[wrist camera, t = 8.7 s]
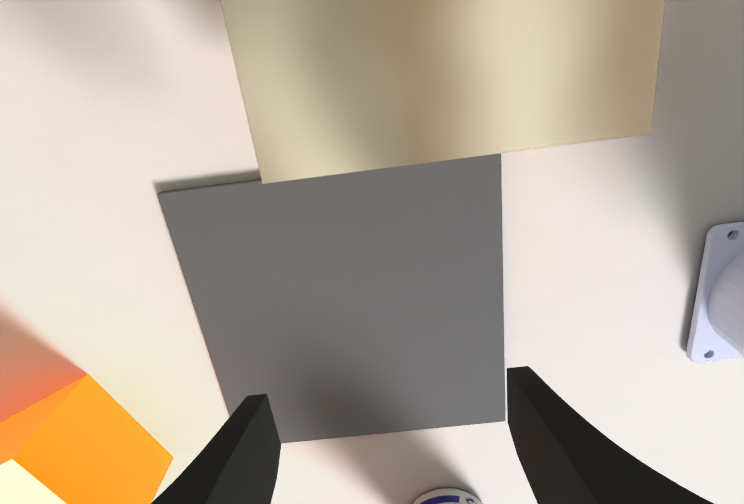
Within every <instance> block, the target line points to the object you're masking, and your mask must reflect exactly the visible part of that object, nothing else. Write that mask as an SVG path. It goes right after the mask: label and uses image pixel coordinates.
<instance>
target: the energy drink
mask: <svg viewBox="0 0 744 504" xmlns="http://www.w3.org/2000/svg"><path fill="white" fill-rule="evenodd" d="M413 504H482V503H481V502H480V501H479V500H478V499H477V498H476V497H474V496H473V495H471V494H470V493H468V492H466V491H463V490H460V489H455V488H441V489H435V490H432V491H429V492H427V493H425V494H423V495H421V496H420V497H418V498H417V499H416V500H415V501H414V503H413Z"/></svg>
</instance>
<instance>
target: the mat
mask: <svg viewBox="0 0 744 504" xmlns="http://www.w3.org/2000/svg"><path fill="white" fill-rule="evenodd" d="M157 195H158V198H159V202H160V205H161V208H162V211H163V214H164V217H165V220H166V223H167V226H168V229H169V232H170V235H171V238H172V241H173V244H174V247H175V250H176V253H177V256H178V259H179V263H180V266H181V269H182V272H183V275H184V278H185V281H186V284H187V287H188V290H189V293H190V296H191V299H192V302H193V305H194V308H195V311H196V314H197V317H198V320H199V324H200V327H201V330H202V333H203V336H204V339H205V342H206V345H207V348H208V351H209V354H210V357H211V360H212V363H213V366H214V369H215V372H216V375H217V378H218V381H219V384H220V388H221V391H222V394H223V397H224V400H225V403H226V406H227V409H228V412H229V415H230V416H231V415H232V414H233V412H234V411H235V410H236V409H237V407H238V406H239V405H240V404H241V403H242V401H243V400H244V399H245V398H246V397H247V396H249V395H258V394H267V396H268V399H269V403H270V407H271V410H272V414H273V417H274V421H275V425H276V428H277V432H278V435H279V439H280V442H281V443H289V442H299V441H309V440H319V439H329V438H339V437H350V436H360V435H370V434H380V433H390V432H400V431H410V430H420V429H430V428H440V427H450V426H460V425H471V424H481V423H491V422H501V421H505V375H504V314H503V252H502V191H501V153H499V154H491V155H483V156H475V157H467V158H460V159H452V160H444V161H436V162H429V163H421V164H413V165H405V166H397V167H390V168H382V169H374V170H366V171H359V172H351V173H343V174H335V175H328V176H320V177H312V178H304V179H296V180H289V181H281V182H273V183H265V184H262V180H261V179H258V180H251V181H243V182H235V183H227V184H219V185H212V186H204V187H196V188H188V189H181V190H173V191H165V192H160V193H159V194H157Z"/></svg>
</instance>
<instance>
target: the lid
mask: <svg viewBox="0 0 744 504" xmlns="http://www.w3.org/2000/svg"><path fill="white" fill-rule="evenodd" d="M220 2H221V6H222V11H223V15H224V19H225V24H226V28H227V32H228V37H229V41H230V45H231V50H232V54H233V58H234V63H235V67H236V71H237V76H238V80H239V84H240V89H241V93H242V97H243V102H244V106H245V110H246V115H247V119H248V123H249V128H250V132H251V136H252V141H253V145H254V149H255V154H256V158H257V162H258V167H259V171H260V175H261V180H262V184H265V183H273V182H281V181H289V180H296V179H304V178H312V177H320V176H328V175H335V174H343V173H351V172H359V171H366V170H374V169H382V168H390V167H397V166H405V165H413V164H421V163H429V162H436V161H444V160H452V159H460V158H467V157H475V156H483V155H491V154H499V153H506V152H514V151H522V150H530V149H537V148H545V147H553V146H561V145H568V144H576V143H584V142H592V141H600V140H607V139H615V138H623V137H631V136H638V135H646V134H651V125H652V116H653V107H654V98H655V89H656V80H657V71H658V63H659V54H660V45H661V36H662V27H663V18H664V9H665V0H220Z"/></svg>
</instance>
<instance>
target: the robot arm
mask: <svg viewBox="0 0 744 504" xmlns="http://www.w3.org/2000/svg"><path fill="white" fill-rule="evenodd" d="M731 231H733V232H732V234H731V235H730V236H729V237H727V236H728V233H729V232H731ZM707 351H708V352H707ZM706 352H707V353H706ZM686 355H687V357H688V358H689V359H690V360H691V361H693V362H705V361H715V360H725V359H734V358H744V222H735V223H727V224H719V225H715V226H714V227H712V228H711V229H710V230H709V231H708V233H707V237H706V243H705V248H704V254H703V260H702V265H701V271H700V277H699V282H698V288H697V294H696V300H695V305H694V311H693V317H692V322H691V328H690V334H689V339H688V345H687V351H686ZM507 406H508V425H509V428H510V432H511V435H512V439H513V442H514V445H515V448H516V452H517V455H518V457H519V460H520V462H521V465H522V467H523V470H524V472H525V474H526V477H527V479H528V481H529V484H530V486H531V488H532V491H533V493H534V496H535V498H536V500H537V503H538V504H713V503H711V502H709V501H708V500H706V499H704V498H702V497H700V496H698V495H696V494H694V493H693V492H691V491H689V490H687V489H685V488H683V487H682V486H680V485H678V484H677V483H675V482H673V481H672V480H670V479H668V478H667V477H665V476H663V475H662V474H660V473H658V472H656V471H655V470H653V469H652V468H650V467H649V466H647V465H645V464H644V463H642V462H641V461H639V460H638V459H636V458H635V457H634V456H632V455H631V454H629V453H628V452H626V451H625V450H623V449H622V448H621V447H619V446H618V445H616V444H615V443H614V442H613V441H611V440H610V439H609V438H607V437H606V436H605V435H604V434H602V433H601V432H600V431H599V430H597V429H596V428H595V427H594V426H592V425H591V424H590V423H589V422H588V421H586V420H585V419H584V418H583V417H582V416H581V415H579V414H578V413H577V412H576V411H575V410H574V409H573V408H572V407H570V406H569V405H568V404H567V403H566V402H565V401H564V400H563V399H562V398H561V397H559V396H558V395H557V394H556V393H555V392H554V391H553V390H552V389H551V388H550V387H549V386H548V385H547V384H546V383H545V382H544V381H543V380H542V379H541V378H540V377H539V376H538V375H537V374H536V373H535V372H534V371H533V370H532V369H531V368H530V367H528V366H525V367H516V368H507ZM280 449H281V442H280V439H279V435H278V432H277V428H276V425H275V421H274V417H273V414H272V410H271V407H270V403H269V399H268V396H267V394H258V395H249V396H247V397H246V398H245V399H244V400H243V401H242V403H241V404H240V405H239V406H238V407H237V409H236V410H235V411H234V412H233V414H232V415H231V416H230V417H229V419H228V420H227V421H226V422H225V424H224V425H223V426H222V427H221V429H220V430H219V431H218V432H217V433H216V435H215V436H214V437H213V438H212V439H211V441H210V442H209V443H208V444H207V445H206V447H205V448H204V449H203V450H202V451H201V453H200V454H199V455H198V456H197V457H196V458H195V459H194V460H193V461H192V462H191V464H190V465H189V466H188V467H187V468H186V469H185V470H184V471H183V472H182V473H181V475H180V476H179V477H178V478H177V479H176V480H175V481H174V482H173V483H172V484H171V485H170V486H169V487H168V488H167V489H166V490H165V491H164V492H163V493H161V494H160V495H159V496H158V497H157V498H156V499H155V500H154V501H153V502H152V503H151V504H270V503H271V499H272V495H273V491H274V487H275V483H276V479H277V472H278V465H279V457H280Z"/></svg>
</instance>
